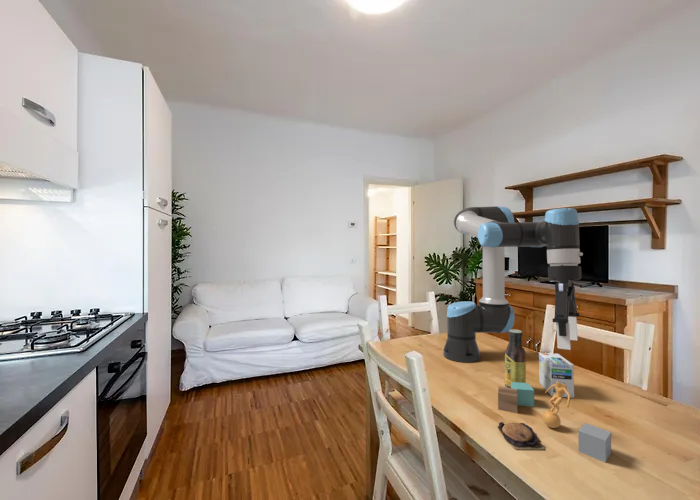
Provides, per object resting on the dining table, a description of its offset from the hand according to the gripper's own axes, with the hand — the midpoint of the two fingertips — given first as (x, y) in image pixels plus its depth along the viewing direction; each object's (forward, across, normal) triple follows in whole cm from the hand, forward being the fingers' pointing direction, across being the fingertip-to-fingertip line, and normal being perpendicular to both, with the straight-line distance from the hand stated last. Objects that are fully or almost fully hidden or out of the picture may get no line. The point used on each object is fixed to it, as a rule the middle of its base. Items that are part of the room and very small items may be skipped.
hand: (568, 344), depth 85 cm
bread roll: (+23, -14, +10) cm, 28 cm away
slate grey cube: (+22, -9, -5) cm, 25 cm away
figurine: (+22, -3, +4) cm, 22 cm away
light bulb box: (+20, +22, +7) cm, 31 cm away
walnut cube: (+21, 0, +16) cm, 26 cm away
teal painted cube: (+21, +6, +13) cm, 25 cm away
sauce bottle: (+20, +14, +17) cm, 30 cm away
